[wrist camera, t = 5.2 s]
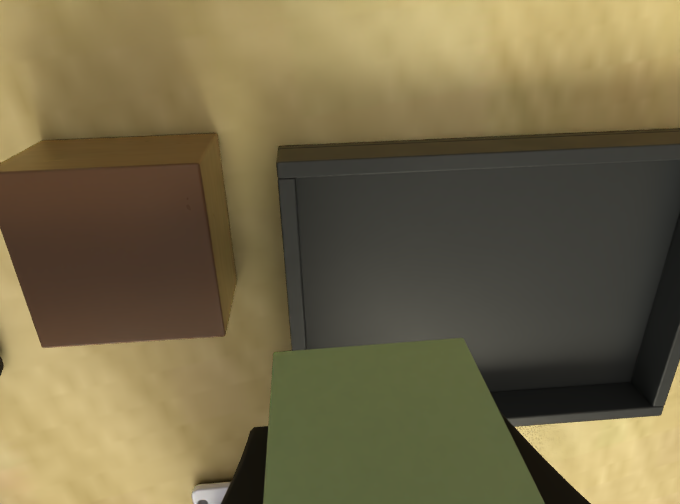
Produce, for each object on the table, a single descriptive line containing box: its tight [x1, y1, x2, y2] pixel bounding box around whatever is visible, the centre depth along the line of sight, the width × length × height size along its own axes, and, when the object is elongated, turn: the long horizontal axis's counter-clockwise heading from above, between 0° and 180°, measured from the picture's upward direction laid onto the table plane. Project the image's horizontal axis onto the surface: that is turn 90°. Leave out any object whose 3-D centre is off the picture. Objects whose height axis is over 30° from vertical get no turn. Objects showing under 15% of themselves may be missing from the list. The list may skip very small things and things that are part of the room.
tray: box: [276, 129, 680, 427], centre depth 22 cm, size 13×17×2 cm
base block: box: [0, 133, 237, 348], centre depth 18 cm, size 6×6×4 cm
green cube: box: [263, 338, 545, 504], centre depth 11 cm, size 5×5×5 cm
